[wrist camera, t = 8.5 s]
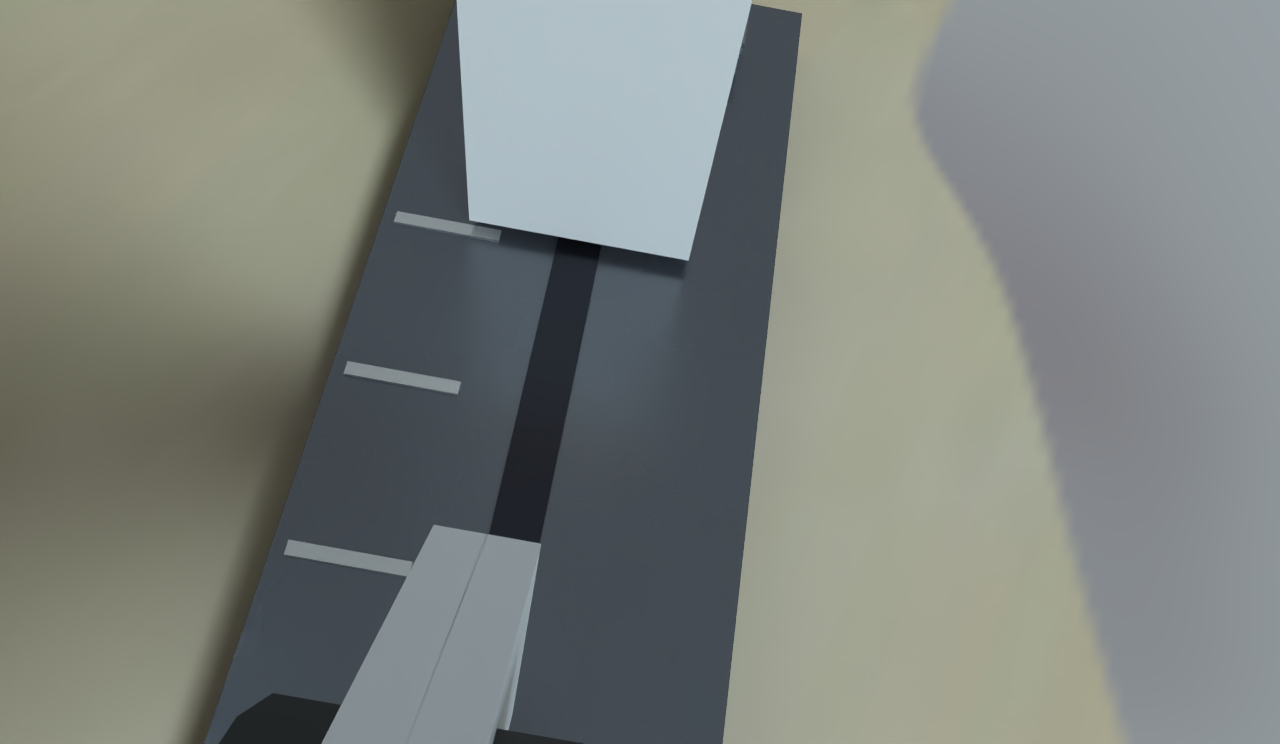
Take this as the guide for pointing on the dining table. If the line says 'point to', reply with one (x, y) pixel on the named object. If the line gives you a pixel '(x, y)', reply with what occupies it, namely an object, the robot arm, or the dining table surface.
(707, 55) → the fader knob
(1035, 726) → the dining table surface
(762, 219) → the board
